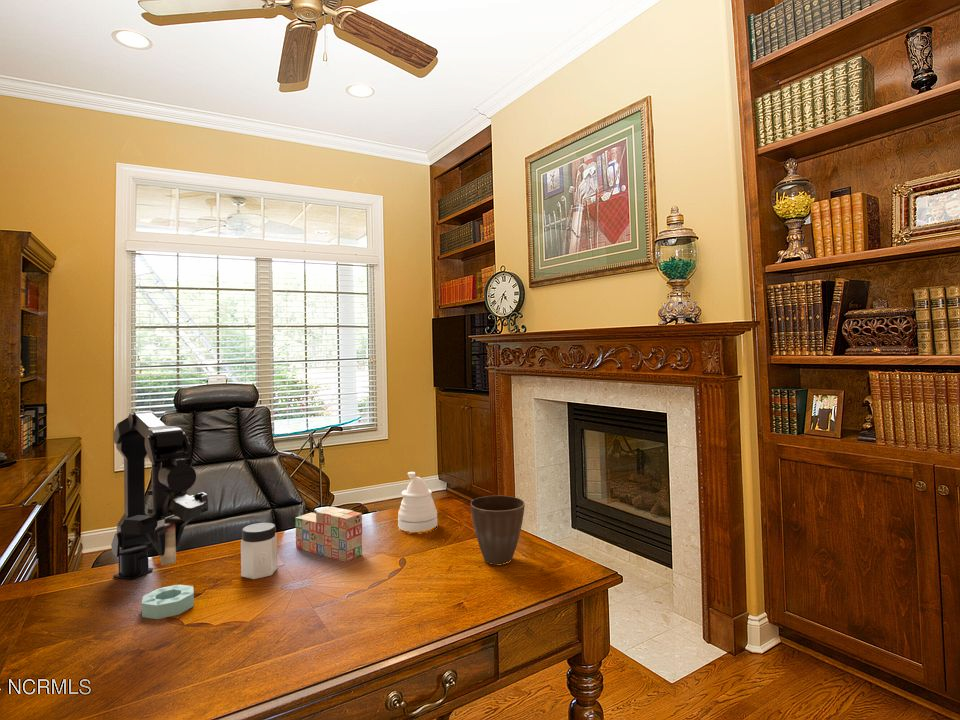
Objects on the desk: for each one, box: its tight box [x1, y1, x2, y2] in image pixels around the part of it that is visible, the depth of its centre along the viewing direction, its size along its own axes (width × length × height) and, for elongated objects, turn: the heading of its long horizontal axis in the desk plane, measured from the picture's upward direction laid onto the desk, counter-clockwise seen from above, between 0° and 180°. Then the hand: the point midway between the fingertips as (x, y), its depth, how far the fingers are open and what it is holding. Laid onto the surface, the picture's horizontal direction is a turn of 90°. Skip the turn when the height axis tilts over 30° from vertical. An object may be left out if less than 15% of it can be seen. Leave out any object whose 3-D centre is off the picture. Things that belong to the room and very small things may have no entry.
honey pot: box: [397, 471, 438, 532], centre depth 177 cm, size 13×13×18 cm
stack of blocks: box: [294, 506, 363, 563], centre depth 156 cm, size 21×6×12 cm, turn 58°
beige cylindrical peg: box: [160, 523, 177, 566], centre depth 121 cm, size 3×3×8 cm
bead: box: [141, 584, 195, 620], centre depth 121 cm, size 10×10×3 cm
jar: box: [240, 522, 278, 580], centre depth 141 cm, size 9×8×12 cm
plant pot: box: [470, 495, 526, 564], centre depth 147 cm, size 15×15×16 cm
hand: (167, 552), depth 121 cm, fingers closed on beige cylindrical peg, 3 cm apart
